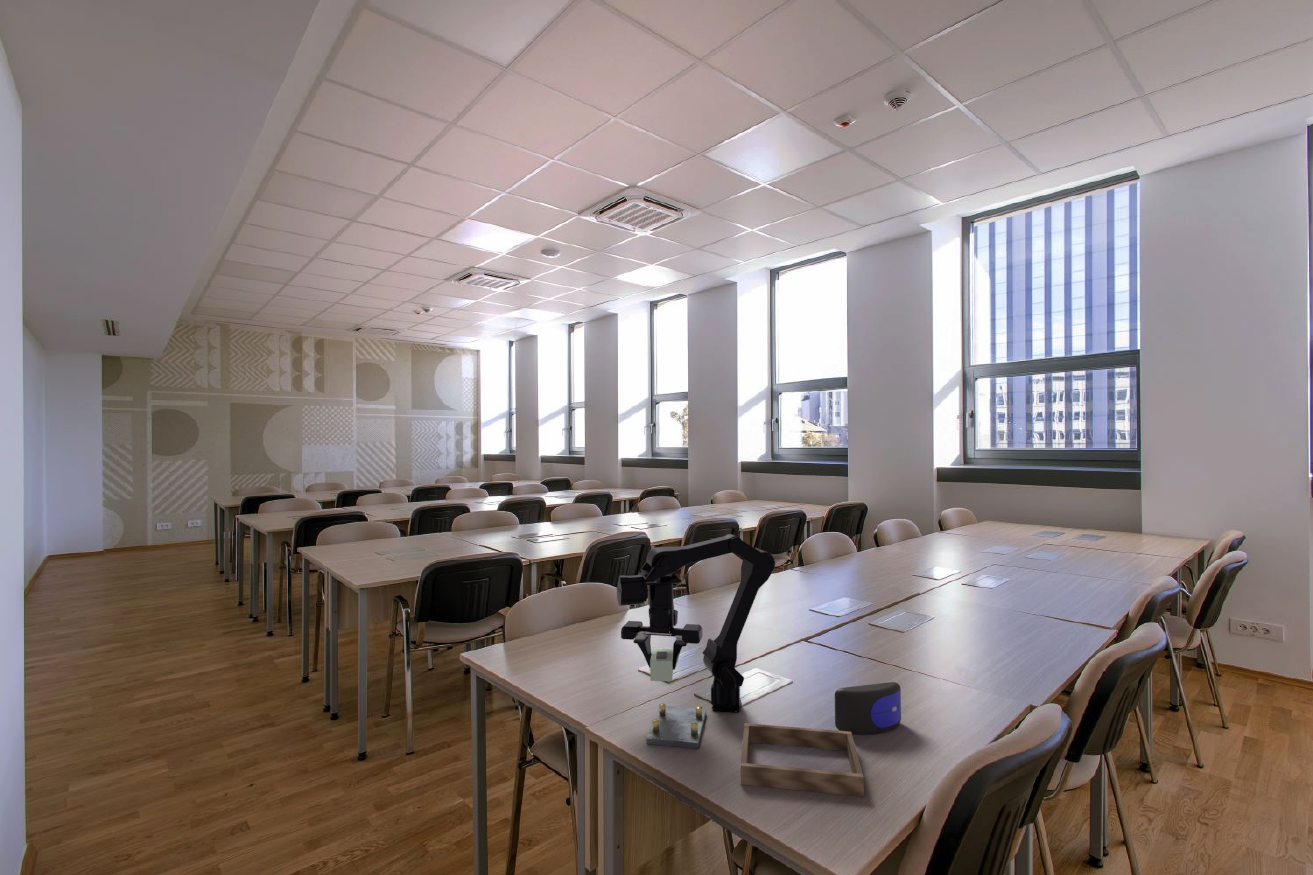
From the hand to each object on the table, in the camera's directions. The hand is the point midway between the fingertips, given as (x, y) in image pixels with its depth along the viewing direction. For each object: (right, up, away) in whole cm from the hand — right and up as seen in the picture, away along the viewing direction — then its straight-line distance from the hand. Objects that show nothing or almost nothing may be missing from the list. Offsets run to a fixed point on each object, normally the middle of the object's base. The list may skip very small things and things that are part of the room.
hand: (662, 668), depth 139 cm
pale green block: (0, -1, 0) cm, 1 cm away
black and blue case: (+46, -11, -7) cm, 48 cm away
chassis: (+3, -11, -7) cm, 13 cm away
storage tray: (+27, -10, -23) cm, 37 cm away
